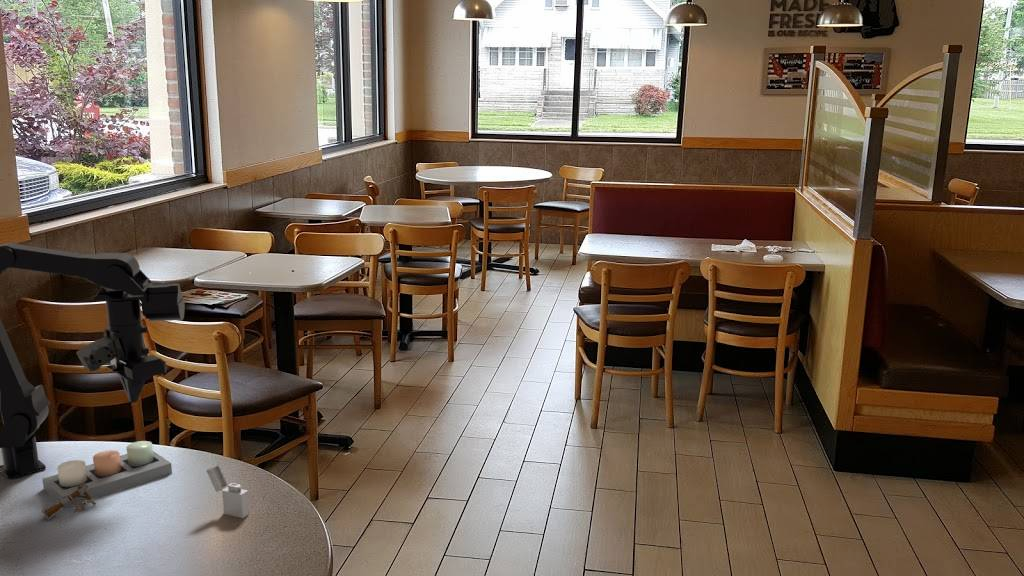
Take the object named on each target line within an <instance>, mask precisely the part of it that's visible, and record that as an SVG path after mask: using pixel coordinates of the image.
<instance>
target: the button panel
mask: <svg viewBox="0 0 1024 576" xmlns="http://www.w3.org/2000/svg"><path fill="white" fill-rule="evenodd" d="M153 458H154V459H153V461H152V462H150V463H148V464H145V465H140V466H132V465H129V464H128V457H127V453H125V454H120V462H121V470H120V471H119V472H118V473H116V474H113V475H108V476H98V475H96V474H95V471H94V463H91V464H88V465H86V473H87V481H86V482H84V483H83V484H84V485H85V484H89V485H90V486H89V487H88V488H87V489H88V490H86V492H87V493H88V494H89V495H90V497H92V498H93V499H95V498H99V497H102V496H105V495H109V494H111V493H114V492H118V491H121V490H124V489H126V488H130V487H132V486H136V485H139V484H142V483H145V482H148V481H152V480H154V479H157V478H160V477H164V476H167V475H170V474H172V473H173V468H172V462H170V461H169V460H168V459H166V458H165V457H163V456H161V455H160V454H158V453H157V452H156V451H154V450H153ZM41 479H42V487H43V491H45V492H47V494H48V495H50V496H51V497H52V498H53V499H54V500H55V501H56V502H57V503H59V502H61V501H60V500H62V499H64V498H65V497H66V496H67V497H68V495H69V494H72V493H73V492H75V491H76V490H77V488H78V486H79V485H77V486H72V487H64V486H61V485H60V483H59V476H58V473H57V474H54V475H49V476H46V477H44V478H43V477H42V478H41ZM83 484H80V485H81V486H82V485H83ZM67 488H68V489H67ZM80 496H85V495H84V494H83V493H82V494H80ZM87 501H88V499H86V498H82V497H76V498H74V500H73V501H71V503H69V504H67V505H66V506H63V507H62V508H67V507H70V506H73V505H78V504H80V502H81V503H84V502H87Z"/></svg>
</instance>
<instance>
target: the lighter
mask: <svg viewBox="0 0 1024 576" xmlns="http://www.w3.org/2000/svg"><path fill="white" fill-rule="evenodd" d="M206 474H207V475H208V478H209V480H210V481H211V482H210V483H211V484H212V486H213V488H214V491H215V492H218V493H219V492H220V491H222V492H221V493H222V504H223V505H222V506H223V514H224V515H227V516H231V517H236V518H240V519H244V518H246V517H248V516H249V515H250V508H249V495H248V494H249V493H248V492H249V491H248V490H247V489H243V488H242V487H241V484H239V483H236V482H235V483H234V482H231V483H228V482H227V479H226V477H225V475H224V473H223V471H222V468H221V467H220V464H214V465H212V466H210V467H209V468H207V469H206Z"/></svg>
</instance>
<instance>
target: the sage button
mask: <svg viewBox="0 0 1024 576" xmlns="http://www.w3.org/2000/svg"><path fill="white" fill-rule="evenodd" d="M153 449H154V447H153V443H152V441H150V440H149V441H147V440H140V441H134V442H132V443H129V444H128V445H127V446H126V454H127V457H128V464H129V465H132V466H137V467H141V466H144V465H147V464H151V463H150V462H152V461H153V459H154V458H153V451H154V450H153Z"/></svg>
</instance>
